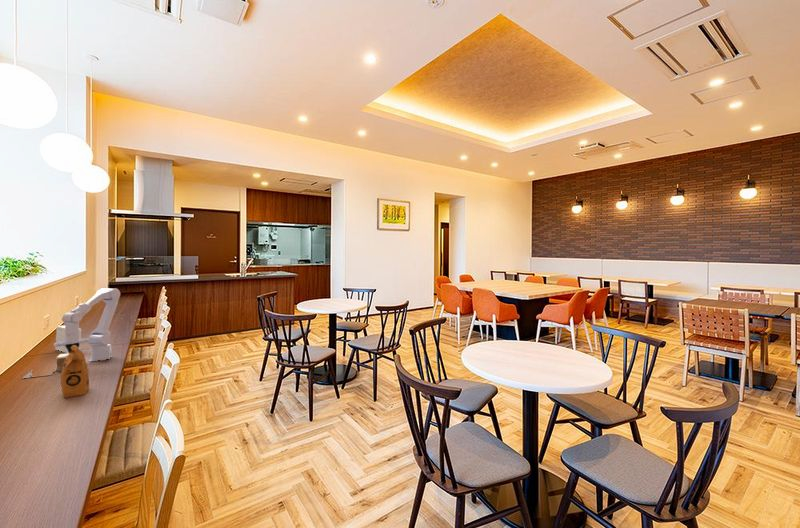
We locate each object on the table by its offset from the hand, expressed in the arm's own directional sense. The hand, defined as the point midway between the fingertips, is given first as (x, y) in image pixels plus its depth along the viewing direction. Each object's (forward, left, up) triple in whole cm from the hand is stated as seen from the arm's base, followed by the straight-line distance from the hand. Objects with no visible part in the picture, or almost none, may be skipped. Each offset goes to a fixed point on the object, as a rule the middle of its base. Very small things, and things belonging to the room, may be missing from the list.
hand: (72, 357), depth 193 cm
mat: (+12, 0, -6) cm, 13 cm away
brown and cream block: (+4, 0, -6) cm, 8 cm away
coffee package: (-10, +43, -7) cm, 45 cm away
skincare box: (+11, -41, -7) cm, 43 cm away
